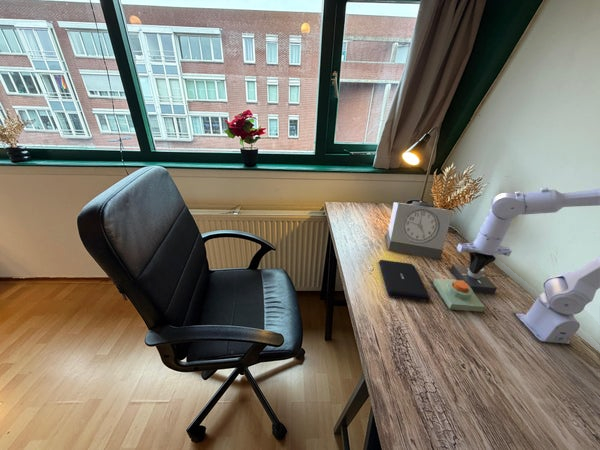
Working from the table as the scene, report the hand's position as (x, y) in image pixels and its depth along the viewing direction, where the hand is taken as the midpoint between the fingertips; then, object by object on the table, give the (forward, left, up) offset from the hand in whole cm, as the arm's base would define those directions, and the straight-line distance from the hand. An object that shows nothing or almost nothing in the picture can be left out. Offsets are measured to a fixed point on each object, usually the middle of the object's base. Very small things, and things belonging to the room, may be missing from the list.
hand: (473, 271), depth 77 cm
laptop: (+5, +18, -10) cm, 21 cm away
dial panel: (+8, -8, -10) cm, 15 cm away
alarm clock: (+30, +6, -10) cm, 33 cm away
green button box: (-1, +2, -10) cm, 10 cm away
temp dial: (+8, -8, -8) cm, 14 cm away
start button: (-1, +2, -7) cm, 7 cm away
